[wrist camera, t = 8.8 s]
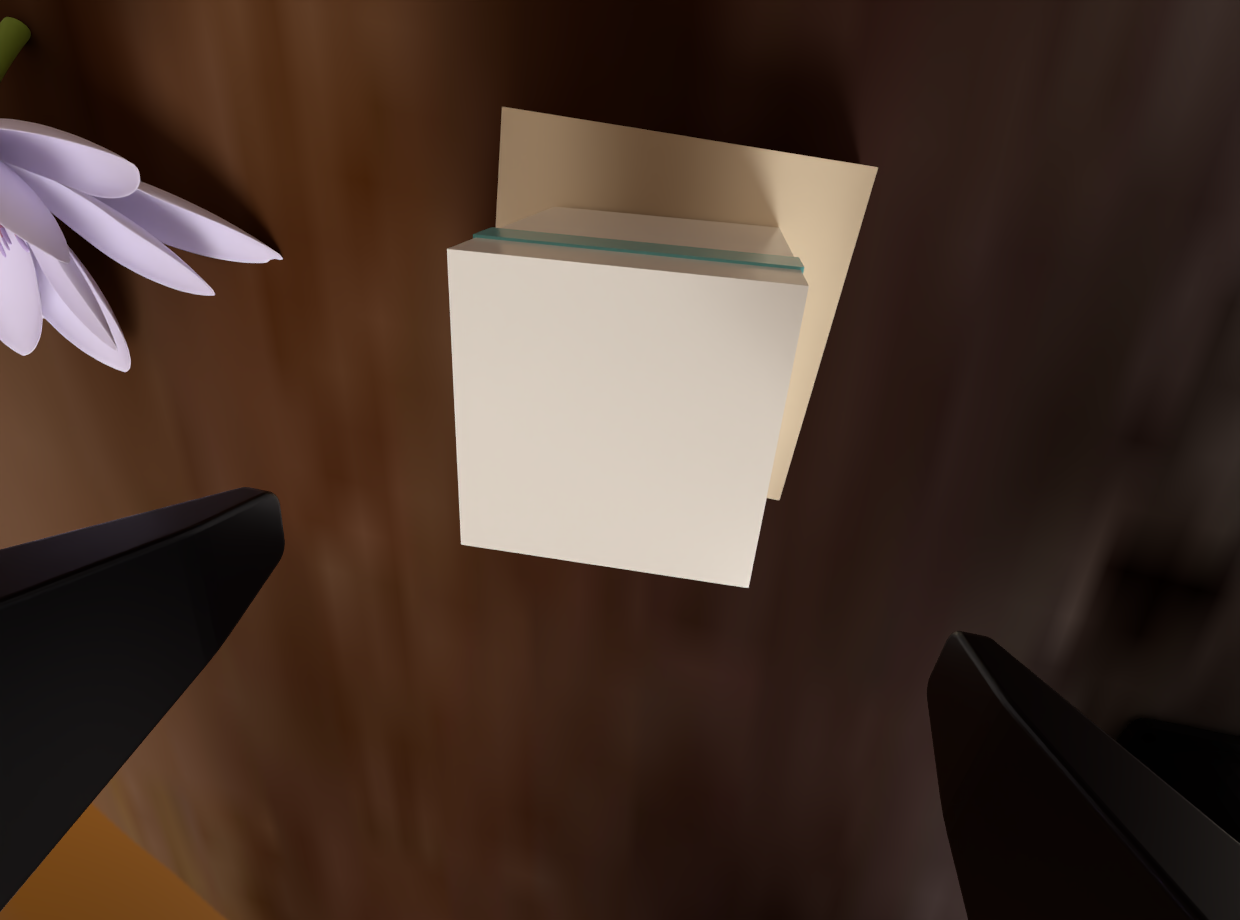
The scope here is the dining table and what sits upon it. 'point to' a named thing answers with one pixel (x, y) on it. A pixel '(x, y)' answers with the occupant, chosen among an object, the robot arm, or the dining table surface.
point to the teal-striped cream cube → (622, 387)
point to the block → (698, 208)
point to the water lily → (89, 231)
